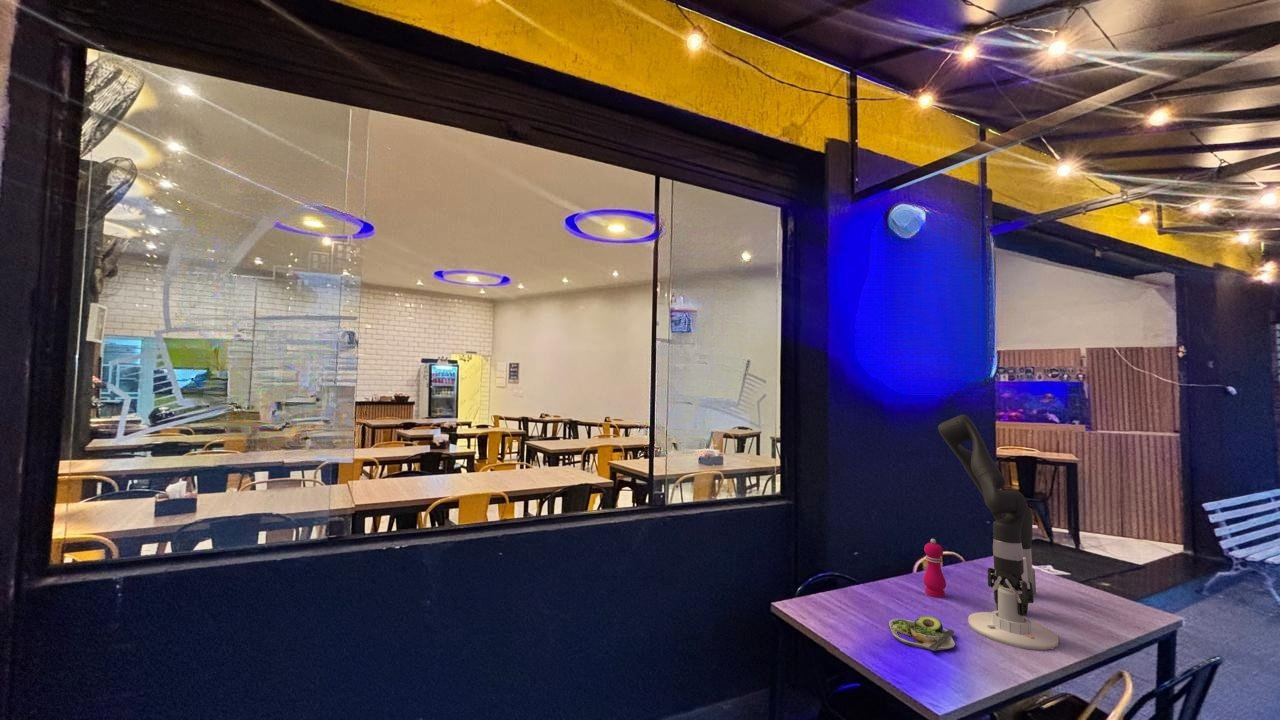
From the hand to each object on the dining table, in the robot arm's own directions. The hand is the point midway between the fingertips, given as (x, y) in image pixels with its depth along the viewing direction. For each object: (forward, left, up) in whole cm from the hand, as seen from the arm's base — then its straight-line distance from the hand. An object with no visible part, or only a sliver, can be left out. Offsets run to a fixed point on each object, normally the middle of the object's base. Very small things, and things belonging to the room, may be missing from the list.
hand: (1010, 609), depth 151 cm
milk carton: (-14, -15, -7) cm, 22 cm away
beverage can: (0, 0, -5) cm, 5 cm away
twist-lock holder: (0, 0, -7) cm, 7 cm away
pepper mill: (+3, -30, -7) cm, 31 cm away
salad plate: (+30, +1, -7) cm, 31 cm away
